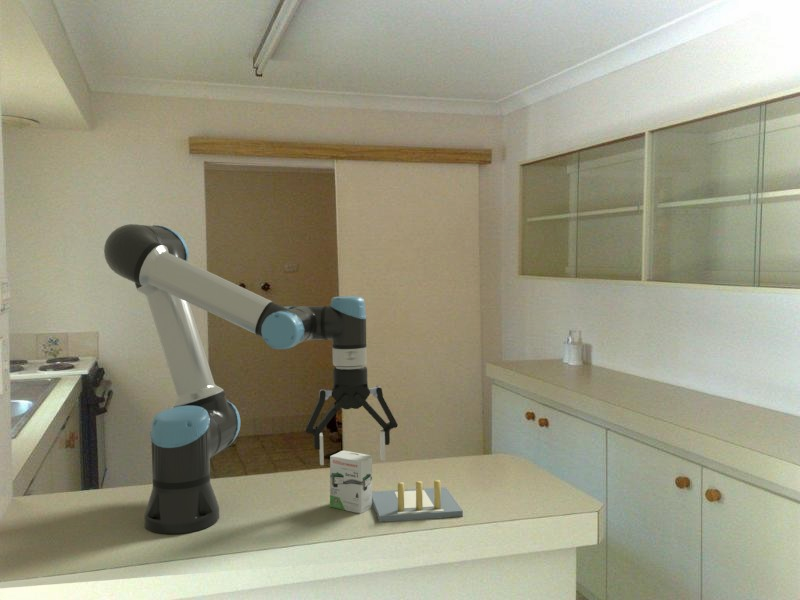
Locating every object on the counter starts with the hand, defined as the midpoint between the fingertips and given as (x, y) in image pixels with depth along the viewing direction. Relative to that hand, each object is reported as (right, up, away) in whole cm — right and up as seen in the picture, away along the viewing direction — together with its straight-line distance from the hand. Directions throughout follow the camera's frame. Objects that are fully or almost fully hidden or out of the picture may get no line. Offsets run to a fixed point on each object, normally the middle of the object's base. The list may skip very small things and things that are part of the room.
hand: (352, 461), depth 159 cm
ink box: (0, -11, +1) cm, 11 cm away
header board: (+14, -10, +1) cm, 17 cm away
